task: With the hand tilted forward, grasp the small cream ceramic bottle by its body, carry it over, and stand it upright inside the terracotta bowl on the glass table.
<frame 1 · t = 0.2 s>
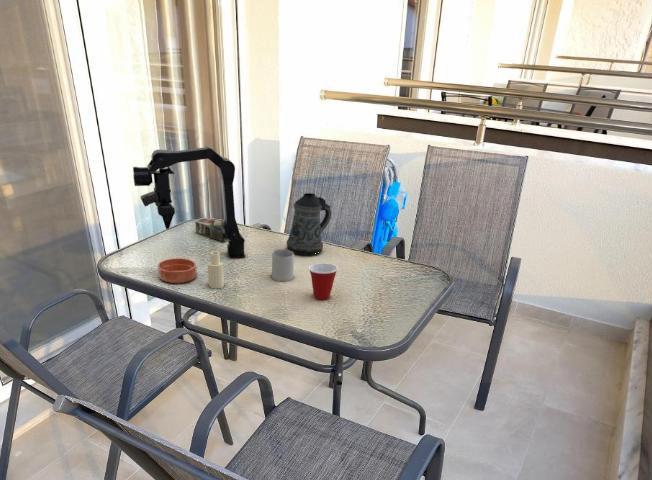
hand: (166, 225, 203), 15 cm above the table, tool pointing down, fingers open, 9 cm apart
cup: (282, 277, 203), on the table
bowl: (178, 277, 197), on the table
plastic cup: (321, 297, 189), on the table
bottle: (216, 285, 192), on the table
beer stein: (306, 250, 232), on the table
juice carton: (216, 235, 241), on the table
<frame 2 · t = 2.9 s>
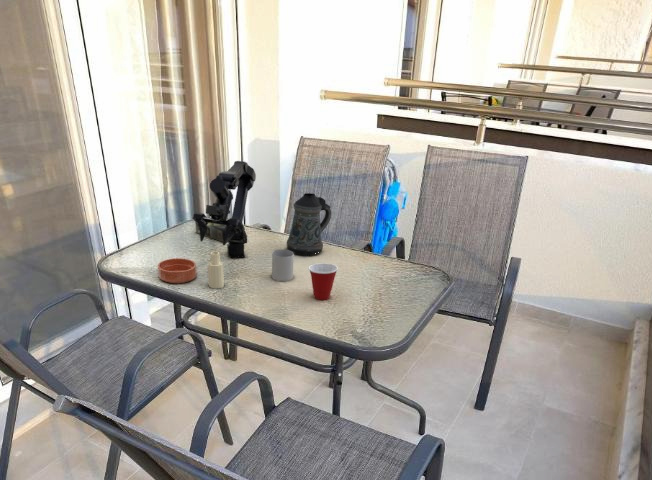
hand: (212, 243, 192), 14 cm above the table, tool tilted 40°, fingers open, 9 cm apart
nothing on the table moved.
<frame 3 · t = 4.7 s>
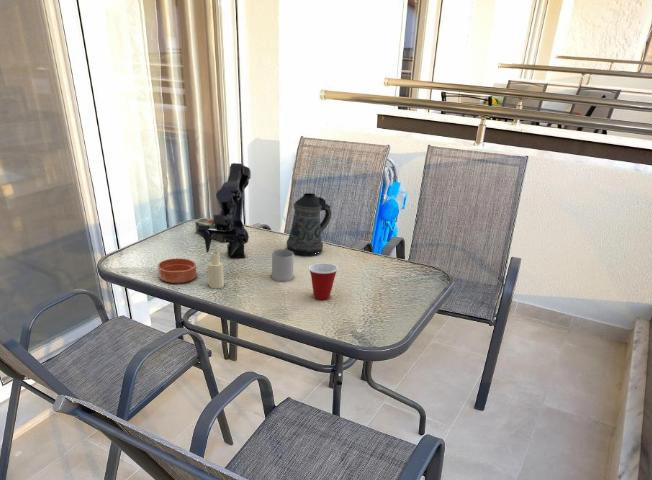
hand: (219, 253, 190), 11 cm above the table, tool tilted 45°, fingers open, 9 cm apart
nothing on the table moved.
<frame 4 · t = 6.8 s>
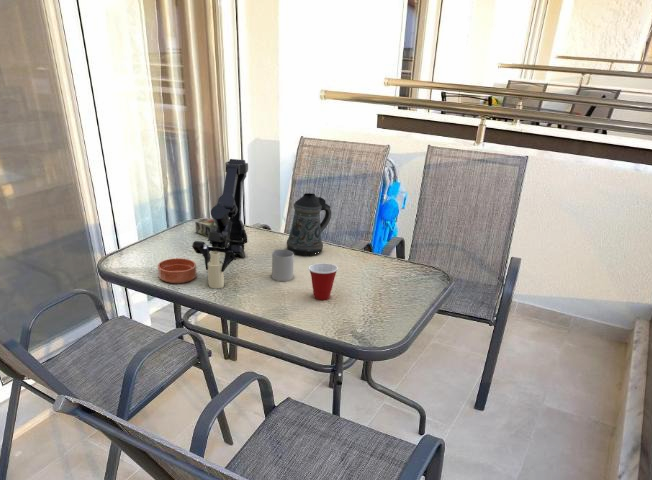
hand: (214, 270, 187), 7 cm above the table, tool tilted 45°, fingers closed on bottle, 6 cm apart
bottle: (216, 285, 192), on the table, touching gripper
everything else where it was.
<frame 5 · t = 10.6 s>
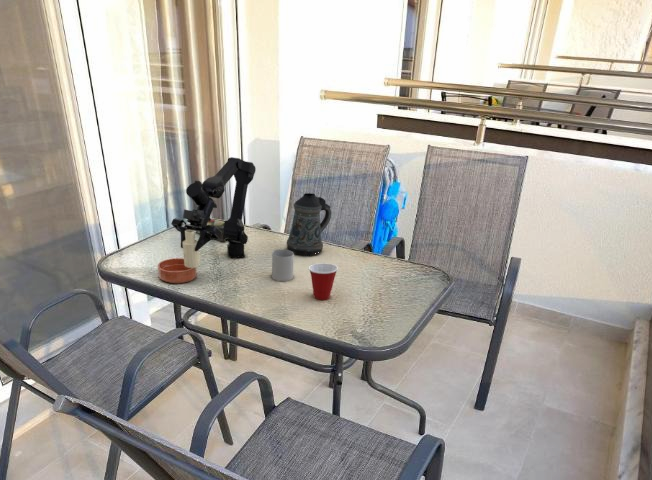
hand: (188, 249, 186), 13 cm above the table, tool tilted 45°, fingers closed on bottle, 6 cm apart
bottle: (192, 265, 190), point 7 cm above the table, touching gripper
everything else where it was.
when the fingers open (7 cm above the table, at t = 14.2 s): bottle stays where it is, resting on bowl.
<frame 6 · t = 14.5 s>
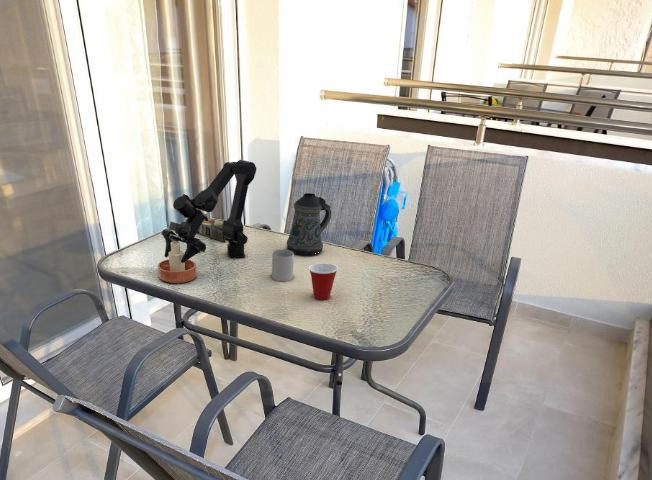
hand: (173, 259, 192), 7 cm above the table, tool tilted 45°, fingers open, 8 cm apart
bottle: (178, 275, 196), point 1 cm above the table, touching bowl
everything else where it was.
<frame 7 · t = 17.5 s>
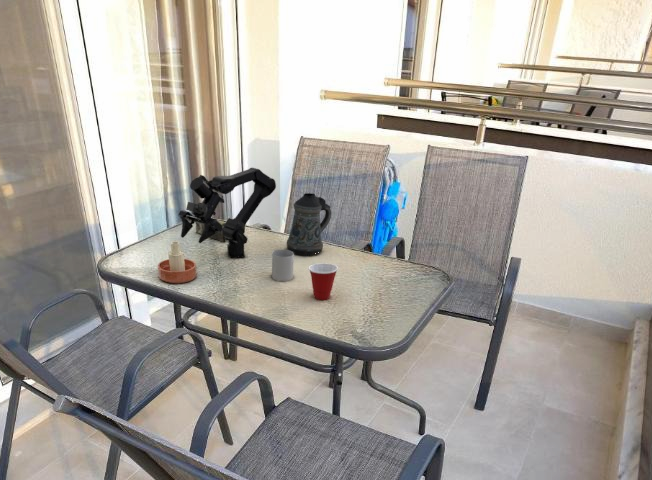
hand: (190, 239, 196), 13 cm above the table, tool tilted 45°, fingers open, 9 cm apart
nothing on the table moved.
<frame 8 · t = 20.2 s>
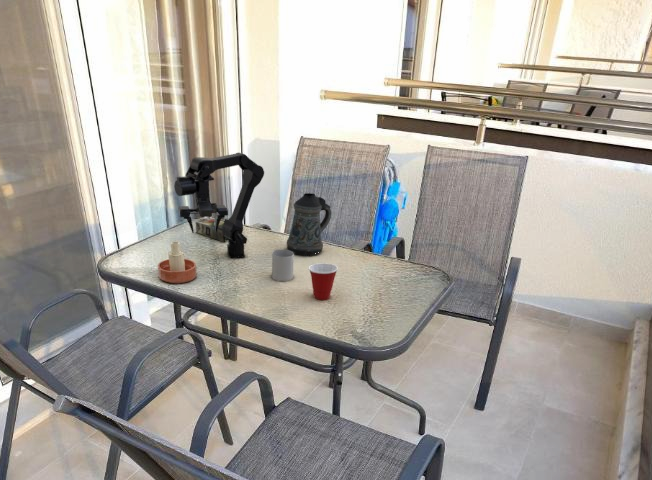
hand: (204, 232, 204), 13 cm above the table, tool pointing down, fingers open, 9 cm apart
nothing on the table moved.
at the end: bottle 0.1 cm off-centre in the bowl, point 0.8 cm above the bowl's base; bottle tilted 0°; the gripper is holding nothing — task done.
